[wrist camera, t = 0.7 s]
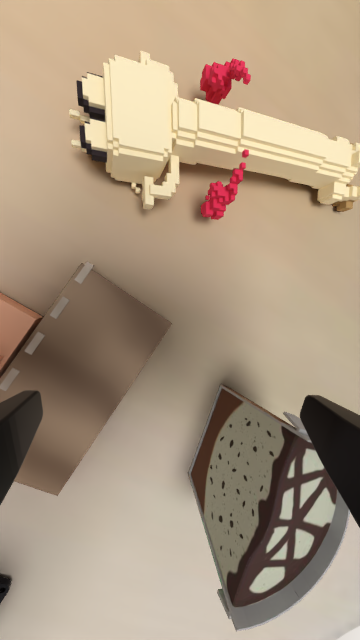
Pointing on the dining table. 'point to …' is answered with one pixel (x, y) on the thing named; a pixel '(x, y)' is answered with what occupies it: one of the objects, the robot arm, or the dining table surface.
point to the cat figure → (201, 135)
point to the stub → (14, 329)
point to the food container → (264, 508)
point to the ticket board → (79, 371)
